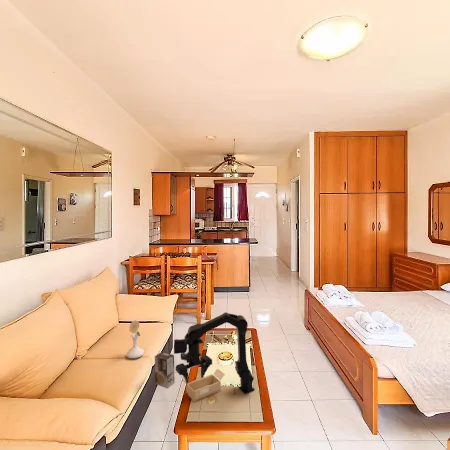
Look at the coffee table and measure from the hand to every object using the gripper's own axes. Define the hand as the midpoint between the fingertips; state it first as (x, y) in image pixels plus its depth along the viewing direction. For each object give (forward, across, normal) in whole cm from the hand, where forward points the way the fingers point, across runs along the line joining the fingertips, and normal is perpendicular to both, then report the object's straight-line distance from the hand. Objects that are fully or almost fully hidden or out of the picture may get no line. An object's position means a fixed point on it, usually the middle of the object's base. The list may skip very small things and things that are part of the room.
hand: (194, 380), depth 155 cm
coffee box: (+8, +9, -19) cm, 22 cm away
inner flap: (+1, -15, 0) cm, 15 cm away
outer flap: (+1, +4, 0) cm, 4 cm away
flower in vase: (+8, +13, -59) cm, 61 cm away
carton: (+8, -5, 0) cm, 10 cm away
